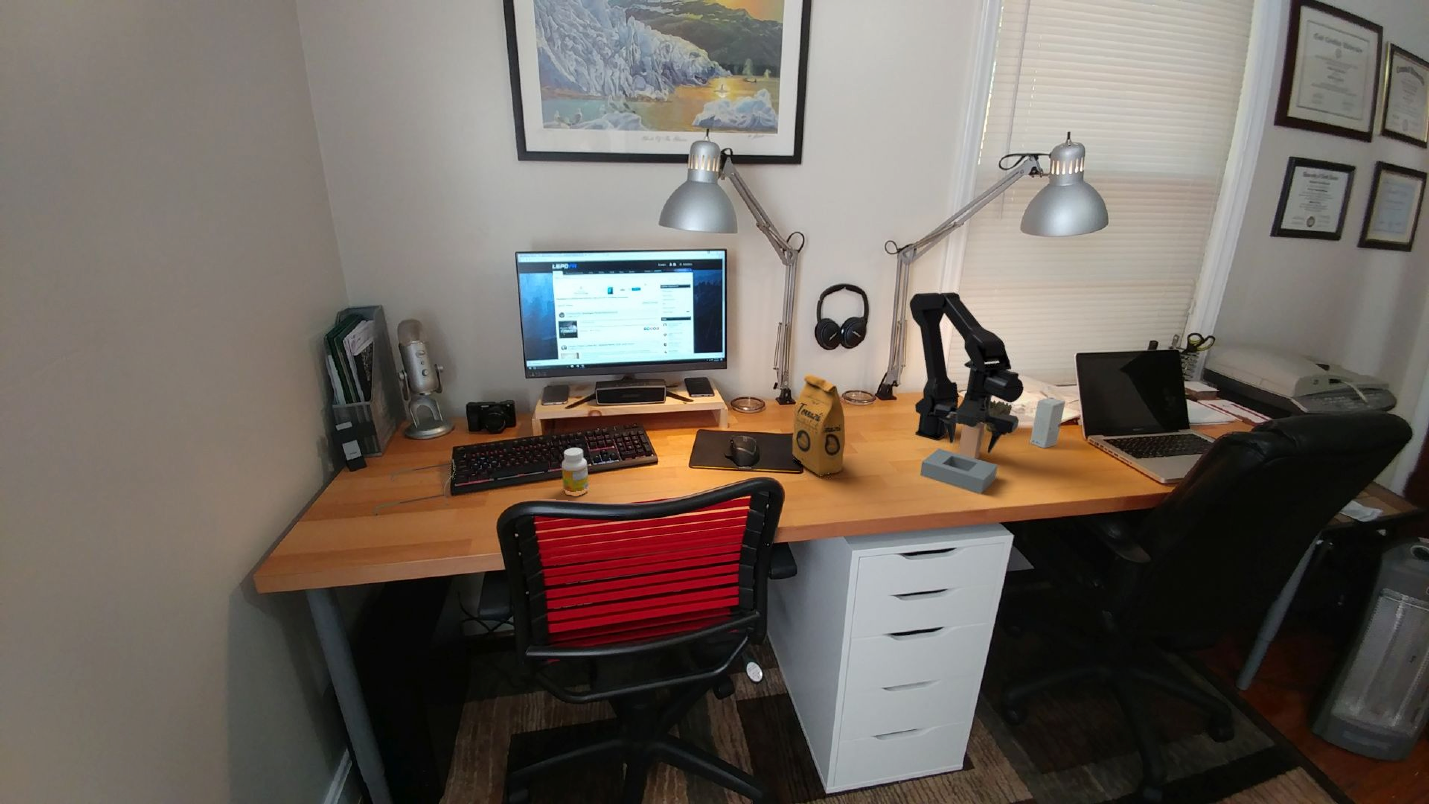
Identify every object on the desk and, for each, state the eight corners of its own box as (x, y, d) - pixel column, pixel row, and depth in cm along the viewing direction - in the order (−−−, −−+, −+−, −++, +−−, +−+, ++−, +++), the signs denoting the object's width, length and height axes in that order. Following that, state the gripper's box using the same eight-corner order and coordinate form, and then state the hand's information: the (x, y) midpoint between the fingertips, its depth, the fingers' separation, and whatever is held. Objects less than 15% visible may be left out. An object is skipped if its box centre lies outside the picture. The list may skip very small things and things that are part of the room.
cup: (984, 423, 173) (989, 397, 170) (1011, 431, 168) (1016, 404, 165) (973, 430, 168) (978, 403, 165) (1000, 438, 163) (1005, 410, 160)
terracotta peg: (957, 457, 151) (962, 424, 148) (963, 452, 154) (968, 419, 151) (973, 461, 149) (979, 428, 146) (979, 456, 152) (985, 423, 148)
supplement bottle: (561, 488, 134) (557, 449, 130) (584, 483, 136) (581, 444, 133) (568, 499, 129) (564, 458, 126) (592, 493, 132) (589, 453, 128)
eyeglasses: (454, 507, 127) (450, 486, 125) (375, 517, 123) (371, 495, 121) (461, 474, 141) (458, 455, 139) (391, 482, 137) (387, 462, 135)
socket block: (920, 474, 142) (922, 461, 140) (936, 461, 149) (938, 448, 148) (981, 494, 133) (983, 480, 132) (995, 478, 140) (997, 465, 139)
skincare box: (1045, 449, 156) (1054, 405, 152) (1028, 443, 160) (1037, 400, 156) (1057, 443, 160) (1067, 401, 155) (1041, 438, 163) (1050, 396, 159)
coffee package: (813, 480, 139) (820, 390, 131) (786, 458, 149) (791, 374, 142) (849, 472, 142) (857, 385, 135) (820, 452, 153) (826, 370, 146)
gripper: (929, 388, 145) (921, 447, 150) (1010, 406, 134) (998, 469, 139) (946, 378, 153) (938, 434, 158) (1024, 394, 142) (1012, 454, 147)
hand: (969, 447), depth 151 cm, fingers open, 9 cm apart
